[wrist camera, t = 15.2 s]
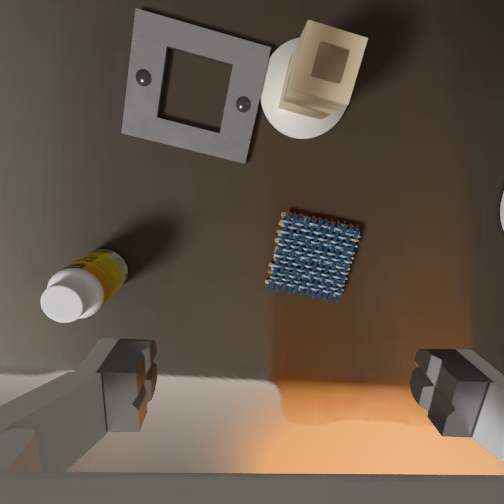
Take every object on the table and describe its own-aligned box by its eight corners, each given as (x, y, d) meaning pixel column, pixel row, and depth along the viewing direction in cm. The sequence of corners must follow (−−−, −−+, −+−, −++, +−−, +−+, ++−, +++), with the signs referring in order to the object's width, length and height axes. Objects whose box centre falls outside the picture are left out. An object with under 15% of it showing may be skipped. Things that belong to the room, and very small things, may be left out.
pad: (355, 43, 33) (357, 40, 32) (342, 141, 35) (343, 141, 35) (262, 35, 32) (262, 32, 32) (256, 136, 35) (256, 135, 34)
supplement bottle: (112, 240, 38) (68, 267, 28) (137, 277, 39) (103, 315, 29) (75, 260, 38) (18, 293, 28) (101, 296, 40) (55, 339, 30)
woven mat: (360, 222, 39) (366, 226, 37) (337, 297, 42) (342, 304, 40) (281, 206, 38) (283, 209, 36) (263, 284, 41) (264, 290, 39)
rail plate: (270, 50, 32) (271, 47, 32) (245, 163, 36) (245, 163, 35) (138, 12, 31) (135, 7, 30) (124, 133, 34) (121, 132, 33)
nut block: (334, 71, 33) (369, 36, 24) (320, 119, 34) (349, 104, 25) (289, 58, 32) (308, 18, 23) (277, 108, 34) (291, 88, 25)
